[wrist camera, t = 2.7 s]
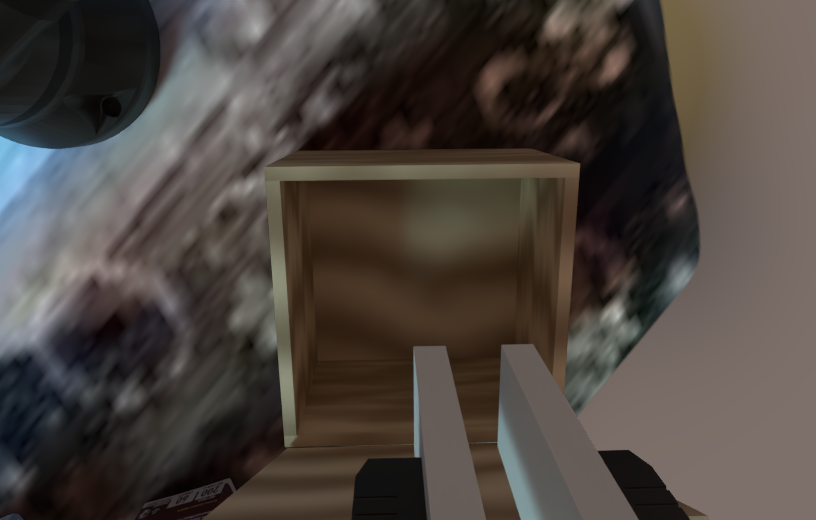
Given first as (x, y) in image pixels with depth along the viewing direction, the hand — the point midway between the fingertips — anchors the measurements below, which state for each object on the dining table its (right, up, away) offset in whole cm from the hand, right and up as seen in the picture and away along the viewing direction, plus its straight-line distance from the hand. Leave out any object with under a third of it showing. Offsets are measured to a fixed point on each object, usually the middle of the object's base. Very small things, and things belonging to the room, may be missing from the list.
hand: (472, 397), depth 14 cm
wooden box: (-1, +3, +33) cm, 33 cm away
